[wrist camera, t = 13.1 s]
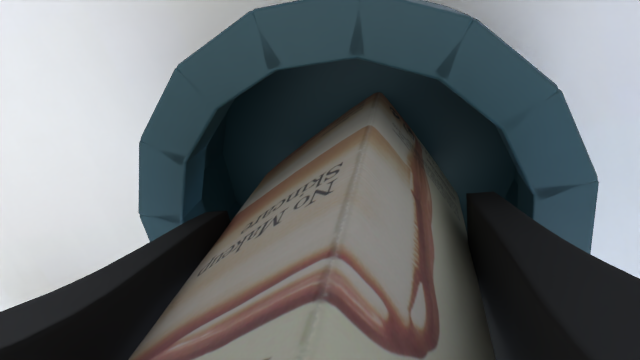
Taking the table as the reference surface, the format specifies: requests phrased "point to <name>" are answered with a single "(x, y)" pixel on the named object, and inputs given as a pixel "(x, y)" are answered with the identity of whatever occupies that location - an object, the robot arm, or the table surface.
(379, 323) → the beige box
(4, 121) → the table surface
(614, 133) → the table surface
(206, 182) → the teal round bowl
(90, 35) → the table surface
